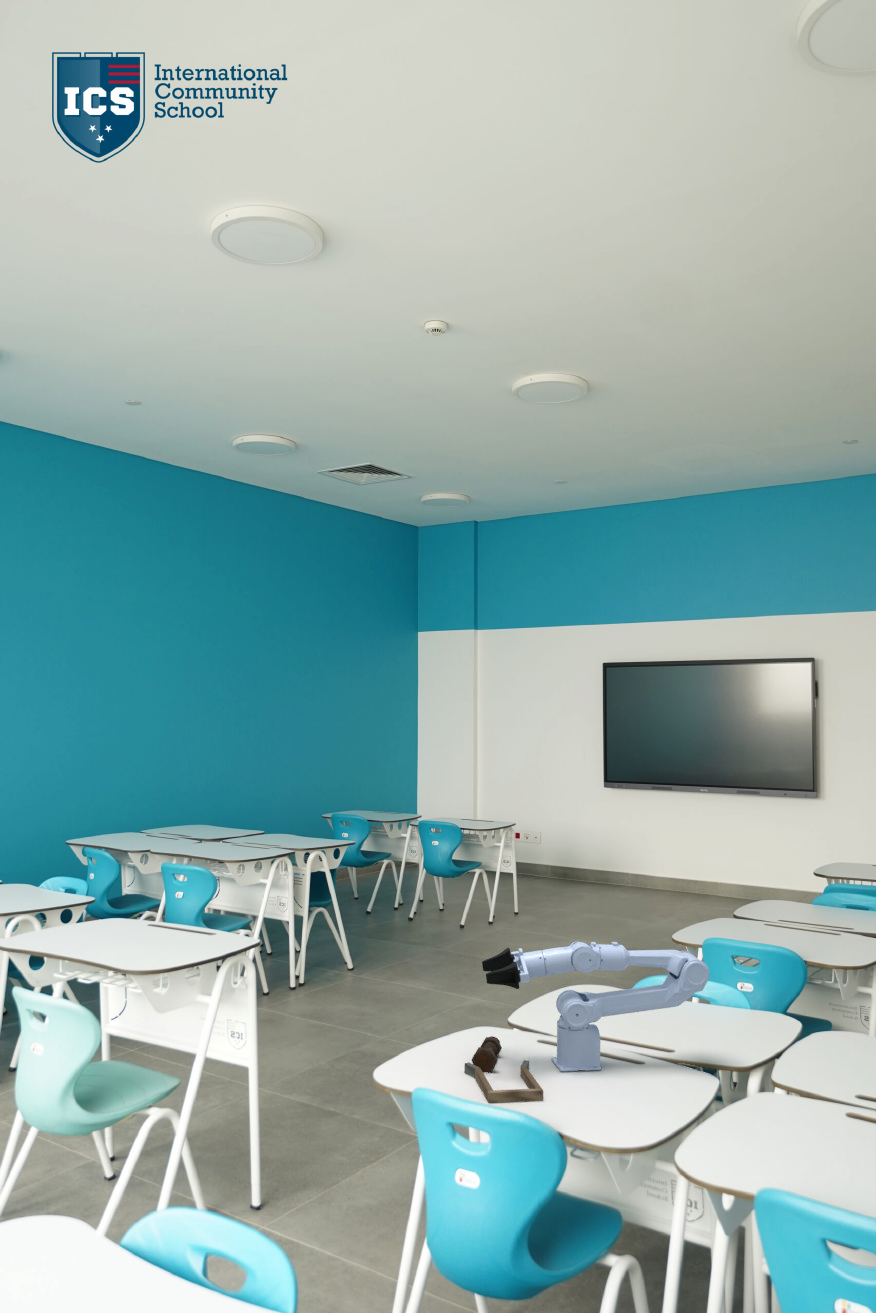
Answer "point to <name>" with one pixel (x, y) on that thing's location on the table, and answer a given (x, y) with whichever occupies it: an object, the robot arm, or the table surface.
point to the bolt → (487, 1054)
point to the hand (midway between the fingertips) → (484, 972)
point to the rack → (507, 1095)
